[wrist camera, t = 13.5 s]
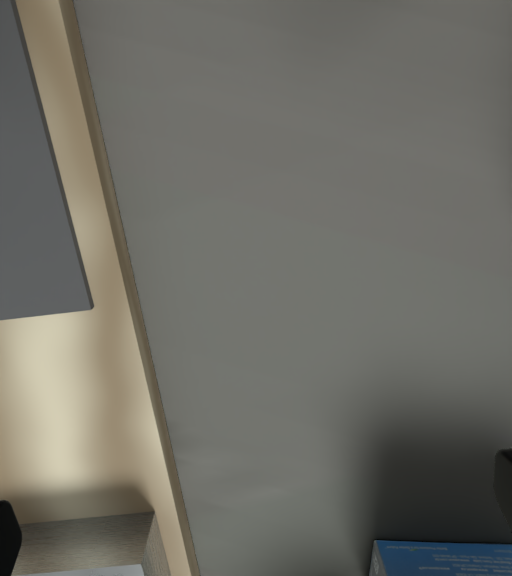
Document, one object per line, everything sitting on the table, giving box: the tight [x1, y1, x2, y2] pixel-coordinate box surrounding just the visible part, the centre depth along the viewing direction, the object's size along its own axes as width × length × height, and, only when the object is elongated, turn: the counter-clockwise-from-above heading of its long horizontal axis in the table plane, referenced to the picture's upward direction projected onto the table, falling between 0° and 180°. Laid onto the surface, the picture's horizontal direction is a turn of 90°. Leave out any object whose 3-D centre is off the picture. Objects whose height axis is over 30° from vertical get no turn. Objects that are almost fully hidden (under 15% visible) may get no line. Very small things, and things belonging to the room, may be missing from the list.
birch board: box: [0, 0, 200, 576], centre depth 22 cm, size 15×35×2 cm, turn 7°
